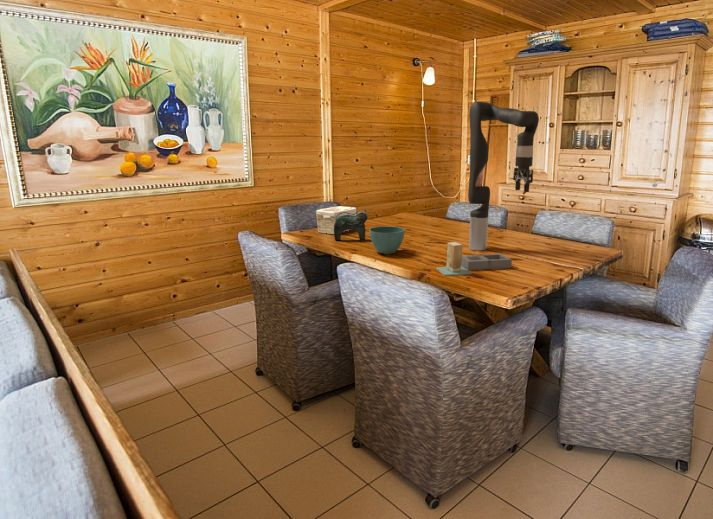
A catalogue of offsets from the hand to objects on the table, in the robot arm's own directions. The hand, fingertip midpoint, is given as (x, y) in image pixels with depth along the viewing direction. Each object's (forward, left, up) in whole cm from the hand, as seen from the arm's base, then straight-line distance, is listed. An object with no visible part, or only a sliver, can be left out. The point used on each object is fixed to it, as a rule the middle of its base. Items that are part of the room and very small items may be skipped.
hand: (521, 191), depth 232 cm
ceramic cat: (-61, -73, -33) cm, 101 cm away
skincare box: (+15, -38, -33) cm, 52 cm away
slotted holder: (+9, -21, -33) cm, 40 cm away
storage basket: (-91, -77, -34) cm, 124 cm away
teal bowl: (-27, -59, -33) cm, 73 cm away
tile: (+15, -38, -33) cm, 53 cm away
